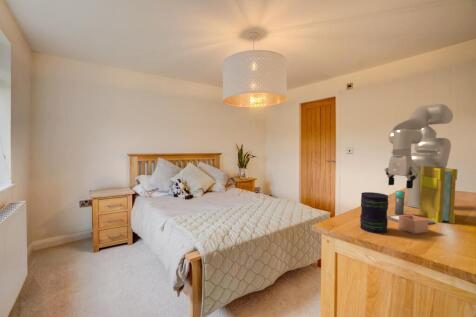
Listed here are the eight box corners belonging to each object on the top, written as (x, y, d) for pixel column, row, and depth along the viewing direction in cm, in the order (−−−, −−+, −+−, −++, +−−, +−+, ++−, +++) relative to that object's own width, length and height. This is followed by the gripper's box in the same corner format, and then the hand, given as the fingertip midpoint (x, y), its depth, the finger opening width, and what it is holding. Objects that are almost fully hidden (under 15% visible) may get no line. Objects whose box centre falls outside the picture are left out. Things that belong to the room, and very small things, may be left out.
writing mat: (408, 215, 112) (408, 213, 112) (434, 223, 100) (435, 221, 100) (385, 217, 108) (385, 215, 108) (409, 226, 96) (409, 224, 96)
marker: (398, 212, 116) (399, 190, 116) (405, 215, 112) (406, 192, 112) (392, 213, 115) (393, 190, 115) (399, 215, 112) (400, 192, 111)
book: (454, 223, 100) (457, 169, 99) (437, 222, 101) (440, 168, 100) (430, 212, 117) (432, 166, 115) (415, 211, 118) (417, 165, 117)
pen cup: (410, 226, 96) (411, 214, 95) (427, 232, 89) (428, 219, 89) (398, 228, 94) (398, 215, 94) (414, 234, 87) (415, 220, 87)
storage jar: (355, 228, 94) (356, 193, 93) (366, 223, 100) (367, 191, 99) (381, 236, 86) (382, 198, 85) (391, 230, 92) (392, 195, 91)
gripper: (380, 153, 120) (379, 184, 120) (413, 153, 103) (411, 189, 103) (391, 153, 121) (390, 183, 122) (425, 154, 105) (423, 189, 105)
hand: (399, 186), depth 113 cm, fingers open, 9 cm apart
